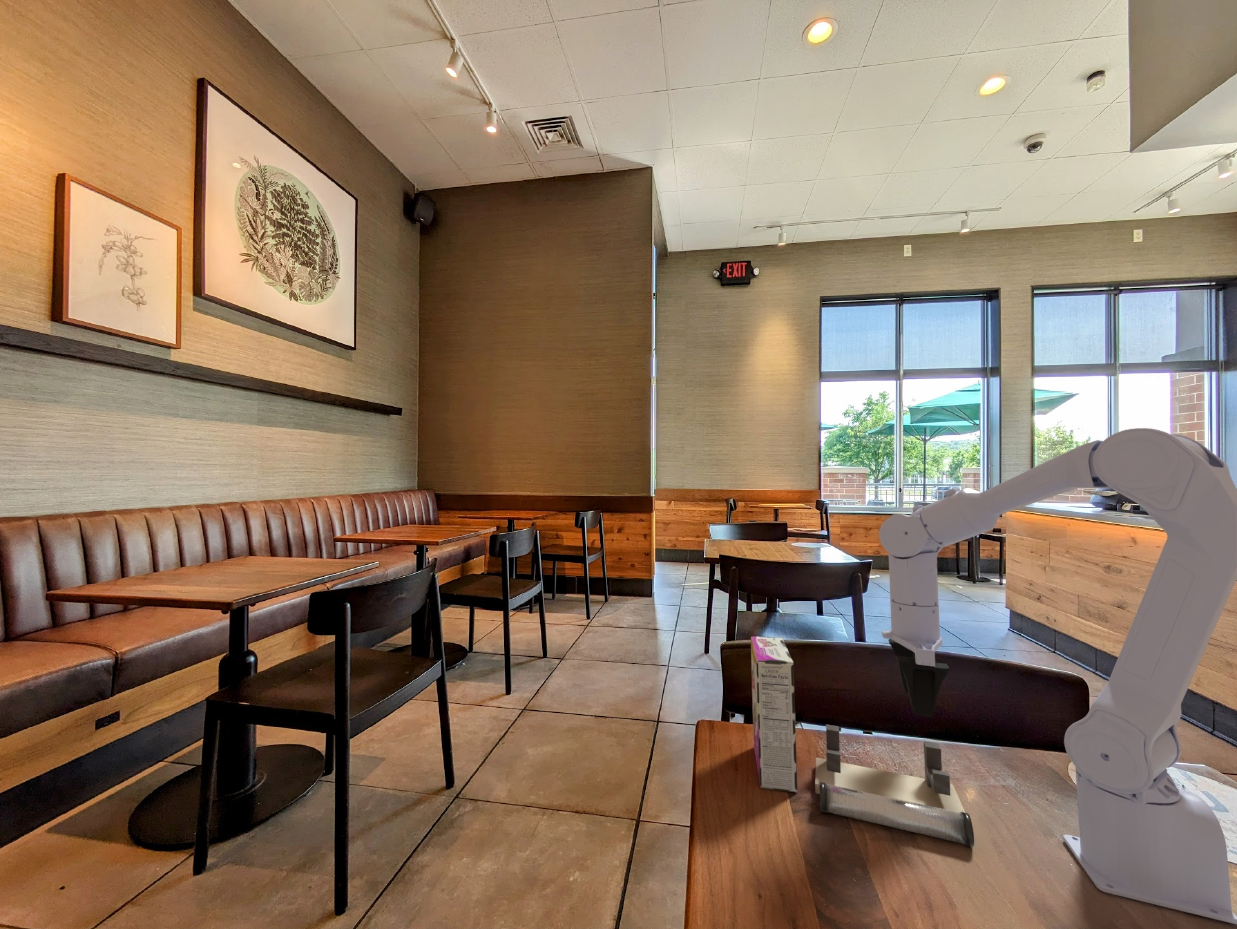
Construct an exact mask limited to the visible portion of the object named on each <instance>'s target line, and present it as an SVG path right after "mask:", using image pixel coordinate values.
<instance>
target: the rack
mask: <svg viewBox="0 0 1237 929" xmlns="http://www.w3.org/2000/svg"><path fill="white" fill-rule="evenodd" d="M839 727H840V726H838V725H834V724H833V725H830V724H825V731H826V732H825V738H826V752H825V753H826V757H825V758H826V759H825V758H821V757H816V758H815V780H814V787H815V788H814V790H815V795H820V782H824V783H825V784H829V785H833V786H838V787H843V788H847V789H852V790H857V791H861V792H866V793H871V794H876V795H880V796H885V797H890V798H894V799H899V800H904V801H908V802H913V803H918V804H922V805H927V806H932V807H936V808H941V809H946V810H950V811H955V812H965V813H966V811H965V809H964V807H963V804H962V802H961V800H960V798H959V795H958V793H957V791H956V789H955V786H954V785H953V784H952V783H951V778H950V776H951V775H950V774H949V772H947V771H943V765H942V748H941V745H940V744H939V743H938V742H932V741H927V740H923V755H924V778H922V777H918V776H912V775H907V774H903V773H897V772H891V771H889V770H888V771H887V770H882V769H877V768H873V767H872V768H871V767H867V766H862V765H856V764H853V763H847V762H841V750H840V749H841V748H840V728H839Z"/></svg>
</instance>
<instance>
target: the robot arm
mask: <svg viewBox="0 0 1237 929" xmlns="http://www.w3.org/2000/svg"><path fill="white" fill-rule="evenodd" d="M1231 476H1232V475H1231V474H1230V470H1229V467H1228V464H1227V462H1225V461H1224V460H1222V458H1220V457H1219V456H1217V455H1216V454H1215V453H1214V452H1213V451H1211V450H1210V449H1209V448H1208V447H1206V446H1205V445H1204V444H1203V443H1201V442H1199V440H1196V439H1194V438H1192V437H1187V436H1185V435H1181V434H1175V433H1173V434H1171V433H1169V432H1166V431H1163V430H1159V429H1155V428H1149V427H1134V428H1133V427H1132V428H1128V429H1123V430H1120V431H1117V432H1115V433H1113V434H1110V435H1109V436H1108V437H1107V438H1104V440H1100V439H1097V440H1094V441H1090V442H1086V443H1083V444H1081V445H1078V446H1076V447H1075V448H1073V449H1070V450H1068V451H1065V452H1064V453H1061V454H1060V455H1057V456H1055V457H1053V458H1051V459H1049V460H1046V461H1045V462H1043V463H1040V464H1038V465H1036V466H1035V467H1033V468H1032V467H1031V468H1030V469H1028V470H1026V471H1024V472H1021V473H1020V474H1017V475H1015V476H1014V477H1012V478H1009V479H1007V480H1005V481H1003V482H1001V483H999V484H996V485H995V486H992V487H991V488H988V489H986V490H984V491H979V490H975V489H974V488H968V487H967V488H962V489H960V488H958V487H957V488H956V487H955V488H953V487H952V488H950V489H948V490H946V491H944V496H945V497H943V498H941V499H938V500H936V501H933V502H931V503H929V504H927V505H921V504H919V505H916V506H913V507H912V508H911V509H912V512H911V514H908V515H907V514H903V513H897V514H896V513H894V514H892V515H891V516H890V517H888V518H886V520H884V521H883V523H882V524H881V525H880V528H879V534H878V537H879V541H880V544H881V546H882V547H883V549H884V550H885V551H886V552H887V553H888V571H889V597H890V598H889V599H890V601H889V603H890V624H891V628H890V629H891V630H888V629H885V630H881V635H882V638H883V639H888V642H889V643H888V644H889V645H890V647H891V649H892V651H893V652H894V655H895V658H896V659H895V660H896V661H897V665H898V669H899V674H900V678H901V682H902V684H901V685H902V686H903V689H904V692H905V694H908V696H909V700H910V705H911V706H910V707H911V709H912V711H913V714H914V716H919V717H926V718H932V719H933V717H934V716H935V711H936V707H937V702H938V697H939V692H940V690H941V687H942V684H943V682H944V681H945V678H946V677H947V676H948V674H949V672H950V667H949V665H948V664H947V663H942V662H941V663H940V662H936V653H935V652H936V651H937V650H939V648H940V647H941V646H942V645H943V638H942V637H941V627H940V626H941V625H940V604H939V587H938V585H939V584H938V582H939V581H938V555H939V553H940V551H942V550H943V548H946V547H948V546H951V545H953V544H954V545H955V544H956V543H959V542H962V541H965V540H968V539H971V538H973V537H975V536H980V535H981V534H983V533H987V532H990V531H992V530H994V528H995V527H996V526H997V523H998V520H999V518H1000V516H1001V515H1003V514H1006V513H1010V512H1012V511H1015V510H1017V509H1021V508H1023V507H1026V506H1029V505H1032V504H1035V503H1038V502H1041V501H1043V500H1047V499H1049V498H1052V497H1056V496H1058V495H1059V496H1060V494H1064V493H1067V492H1071V491H1072V490H1076V489H1112V490H1114V491H1115V492H1117V493H1119V494H1120V495H1122V496H1124V497H1126V498H1127V499H1129V500H1131V501H1133V502H1135V504H1138V505H1140V506H1141V507H1142V509H1143V510H1144V511H1145V512H1146V513H1147V514H1148V515H1149V516H1150V517H1151V518H1152V519H1153V521H1154V522H1156V523H1157V525H1158V526H1159V527H1160V528H1161V529H1162V530H1163V531H1164V532H1165V533H1166V537H1167V538H1166V540H1165V543H1164V545H1163V547H1162V550H1161V552H1160V555H1159V558H1158V559H1157V561H1156V565H1155V566H1154V569H1153V571H1152V574H1151V576H1150V579H1149V581H1148V584H1147V587H1146V589H1145V591H1144V594H1143V596H1142V598H1141V601H1140V603H1139V606H1138V608H1137V611H1136V613H1135V615H1134V618H1133V620H1132V623H1131V626H1130V628H1129V629H1128V632H1127V635H1126V638H1125V639H1124V640H1125V641H1124V642H1123V645H1122V647H1121V650H1120V652H1119V654H1118V657H1117V659H1116V662H1115V664H1114V666H1113V669H1112V672H1111V674H1110V676H1109V679H1108V681H1107V682H1106V684H1105V685H1104V686H1103V688H1102V689H1101V691H1100V692H1099V694H1098V695H1097V696H1096V697H1095V699H1094V701H1093V702H1092V704H1091V706H1090V709H1089V711H1088V713H1087V714H1086V715H1085V716H1084V717H1083V718H1082V719H1080V720H1078V721H1076V722H1073V723H1072V724H1071V725H1070V726H1069V727H1068V728H1067V729H1066V730H1065V734H1064V738H1063V744H1064V747H1065V748H1064V749H1065V751H1066V754H1067V756H1068V758H1069V759H1070V761H1071V762H1072V764H1073V766H1075V780H1076V781H1075V783H1076V798H1077V812H1078V814H1077V815H1078V816H1077V818H1078V828H1079V830H1078V831H1079V836H1074V835H1071V834H1063V835H1062V840H1063V841H1064V842H1065V844H1066V845H1067V847H1068V849H1070V851H1071V853H1072V854H1073V855H1074V857H1075V858H1076V859H1077V861H1078V863H1079V864H1080V865H1081V867H1082V868H1083V870H1084V871H1085V872H1086V874H1087V875H1088V877H1089V878H1090V880H1091V881H1092V883H1093V884H1094V885H1095V887H1096V888H1097V889H1098V890H1100V891H1102V892H1104V893H1108V894H1111V895H1115V896H1120V897H1123V898H1126V899H1131V900H1136V901H1140V902H1144V903H1148V904H1151V905H1152V904H1153V905H1156V906H1160V907H1163V908H1168V909H1171V910H1172V909H1173V910H1176V911H1180V912H1185V913H1188V914H1192V915H1197V916H1201V917H1205V918H1207V919H1214V920H1217V921H1222V922H1225V923H1230V924H1233V925H1237V915H1236V914H1235V913H1234V912H1233V909H1232V908H1233V907H1232V906H1233V905H1232V895H1231V884H1230V872H1229V861H1228V859H1229V858H1228V849H1227V841H1226V837H1225V835H1224V831H1223V829H1222V826H1221V824H1220V822H1219V819H1218V817H1217V816H1216V814H1215V812H1214V810H1213V809H1212V808H1211V806H1210V805H1209V804H1208V802H1206V801H1205V800H1204V799H1203V798H1202V797H1200V796H1199V795H1198V794H1195V793H1193V792H1189V791H1185V790H1181V789H1179V788H1178V787H1177V786H1176V783H1175V781H1174V780H1173V778H1172V777H1171V775H1170V774H1169V773H1168V769H1169V768H1170V767H1171V766H1173V765H1175V764H1176V763H1177V762H1178V761H1179V759H1180V757H1181V755H1182V754H1181V752H1182V746H1181V742H1180V739H1179V736H1178V725H1179V722H1180V720H1181V717H1182V703H1183V700H1184V698H1185V695H1186V694H1187V692H1188V689H1189V687H1190V684H1191V682H1192V680H1193V678H1194V675H1195V674H1196V671H1197V669H1198V667H1199V665H1200V662H1201V660H1202V658H1203V655H1204V654H1205V651H1206V649H1207V647H1208V644H1209V643H1210V640H1211V637H1212V636H1213V633H1214V630H1215V629H1216V627H1217V625H1218V622H1219V620H1220V618H1221V616H1222V613H1223V611H1224V609H1225V606H1226V604H1227V602H1228V600H1229V599H1230V598H1229V597H1230V596H1231V593H1232V591H1233V589H1234V586H1235V585H1236V582H1237V486H1236V484H1235V483H1234V481H1233V479H1232V477H1231Z"/></svg>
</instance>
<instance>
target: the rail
mask: <svg viewBox="0 0 1237 929" xmlns="http://www.w3.org/2000/svg"><path fill="white" fill-rule="evenodd" d="M819 810H820V812H821V813H825V814H826V813H831V814H835V815H838V816H843V817H848V818H850V819H851V818H852V819H855V820H860V821H863V822H864V821H865V822H870V823H873V824H876V825H881V826H882V825H883V826H886V827H891V828H895V829H899V830H903V831H907V832H910V833H914V834H915V833H916V834H921V835H925V836H929V837H934V838H938V839H941V840H947V841H950V842H953V843H954V842H955V843H957V844H958V843H959V844H962V845H965V846H967V847H970V848H971V847H972V848H974V847H975V846H974V845H975V834H974V828H973V822H972V820H971V819H972V818H971V816H970V813H968V812H966V811H965V812H955V811H950V810H946V809H941V808H936V807H932V806H927V805H922V804H918V803H913V802H908V801H904V800H899V799H894V798H890V797H885V796H880V795H876V794H871V793H866V792H861V791H857V790H852V789H847V788H843V787H838V786H833V785H829V784H825V783H824V782H820V794H819Z"/></svg>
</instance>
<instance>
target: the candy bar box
mask: <svg viewBox="0 0 1237 929" xmlns="http://www.w3.org/2000/svg"><path fill="white" fill-rule="evenodd" d="M750 652H751V654H750V655H751V656H750V658H751V693H752V694H751V697H752V724H753V725H752V728H753V747H754V748H753V749H754V755H755V761H756V767H757V775H758V782H759V787H760V789H763V790H770V791H780V792H789V793H798V791H799V790H798V766H797V765H798V764H797V760H798V759H797V758H798V757H797V736H796V735H797V733H796V732H797V729H796V703H795V697H796V696H795V682H794V681H795V678H794V674H795V673H794V672H795V671H794V660H793V659H792V656H791V654H790V652H789V650H788V647H787V645H786V643H785V640H784V639H783V638H781V637H774V636H773V637H770V636H759V635H757V636H751V637H750Z"/></svg>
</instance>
